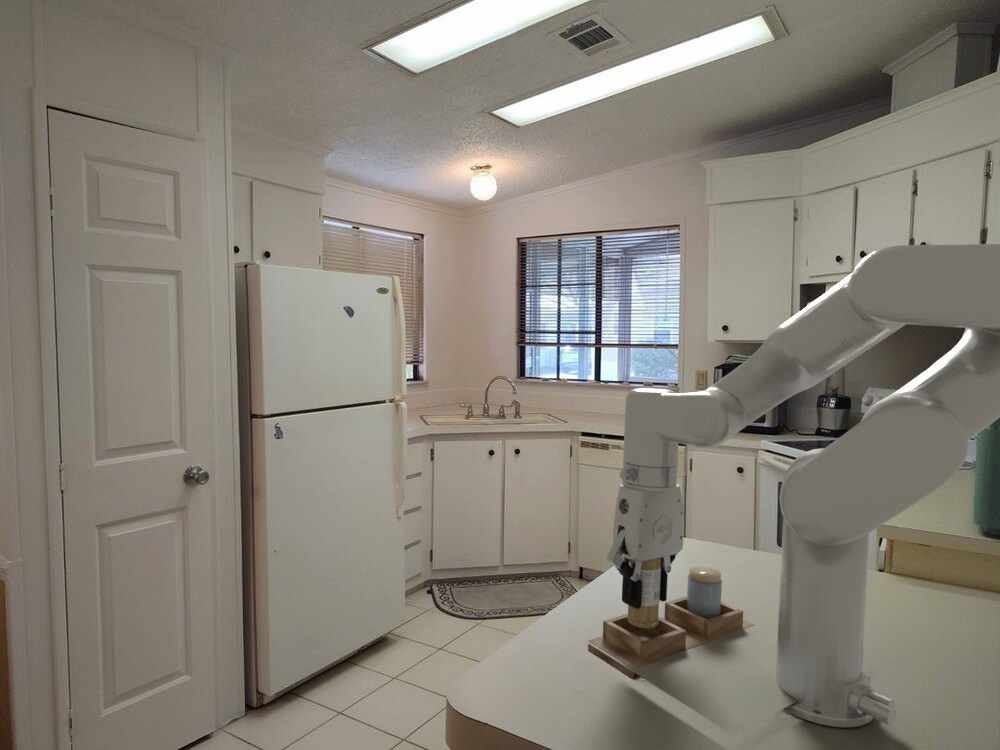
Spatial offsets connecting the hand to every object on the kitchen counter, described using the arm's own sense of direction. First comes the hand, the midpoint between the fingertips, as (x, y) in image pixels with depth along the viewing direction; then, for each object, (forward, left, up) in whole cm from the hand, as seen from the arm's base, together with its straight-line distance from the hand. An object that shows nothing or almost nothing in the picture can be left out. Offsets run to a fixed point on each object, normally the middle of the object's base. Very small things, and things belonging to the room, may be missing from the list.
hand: (644, 600), depth 87 cm
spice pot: (0, -13, -6) cm, 14 cm away
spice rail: (0, -7, -8) cm, 10 cm away
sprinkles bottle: (0, 0, -4) cm, 4 cm away
